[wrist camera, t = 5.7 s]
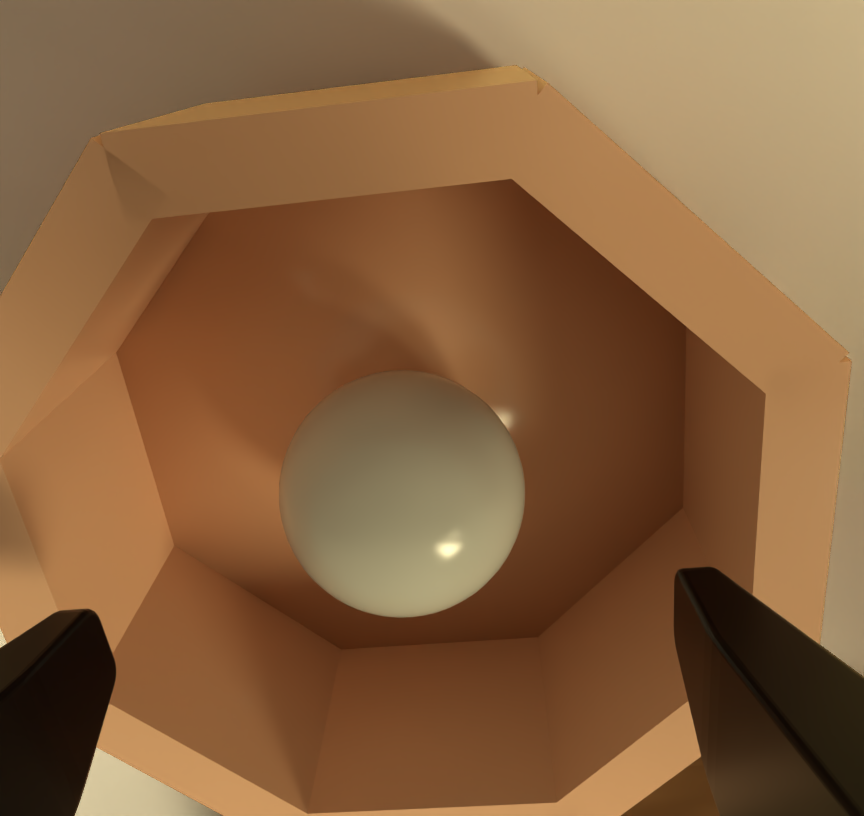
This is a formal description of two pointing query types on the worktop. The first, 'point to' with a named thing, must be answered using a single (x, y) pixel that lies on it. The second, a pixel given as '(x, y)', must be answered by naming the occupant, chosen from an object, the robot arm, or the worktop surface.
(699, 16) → the worktop surface
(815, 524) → the bowl
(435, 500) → the pebble
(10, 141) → the worktop surface
